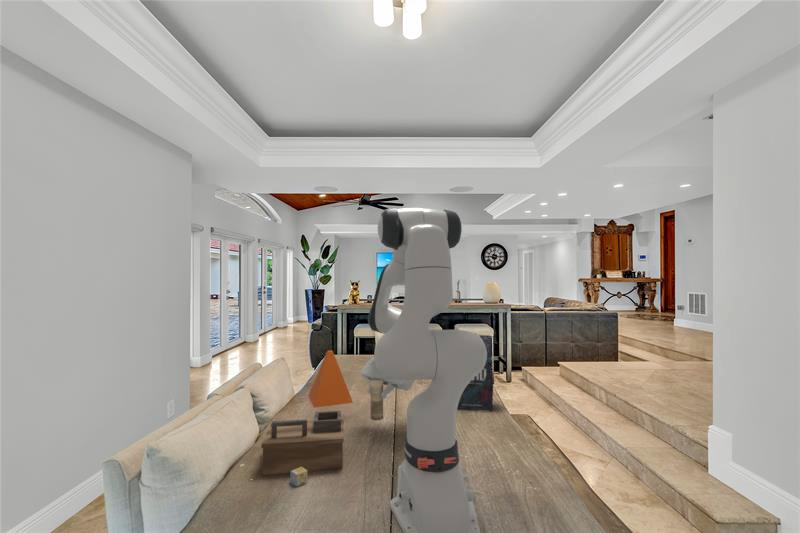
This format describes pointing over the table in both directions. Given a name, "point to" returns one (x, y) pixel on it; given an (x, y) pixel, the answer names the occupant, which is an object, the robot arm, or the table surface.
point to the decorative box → (479, 385)
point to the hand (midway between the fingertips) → (375, 395)
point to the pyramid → (329, 384)
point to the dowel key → (376, 399)
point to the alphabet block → (298, 476)
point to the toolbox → (304, 444)
